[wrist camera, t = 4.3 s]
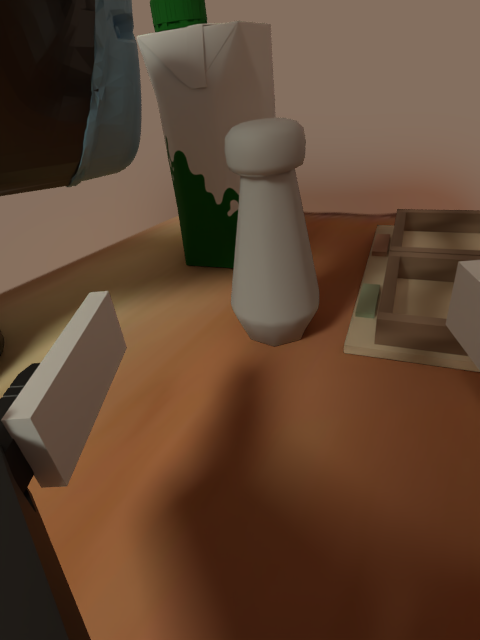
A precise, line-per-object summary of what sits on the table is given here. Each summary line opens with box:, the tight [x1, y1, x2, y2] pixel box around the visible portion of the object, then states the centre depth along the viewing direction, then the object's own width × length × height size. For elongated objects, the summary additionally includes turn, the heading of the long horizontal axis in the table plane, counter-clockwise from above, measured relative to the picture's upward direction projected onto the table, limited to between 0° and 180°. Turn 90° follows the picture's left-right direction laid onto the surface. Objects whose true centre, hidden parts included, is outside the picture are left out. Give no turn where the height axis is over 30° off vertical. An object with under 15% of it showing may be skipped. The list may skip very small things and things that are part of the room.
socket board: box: [344, 209, 480, 372], centre depth 30 cm, size 11×20×2 cm, turn 159°
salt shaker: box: [225, 118, 319, 347], centre depth 24 cm, size 6×6×13 cm
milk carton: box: [137, 0, 276, 268], centre depth 34 cm, size 9×9×20 cm
